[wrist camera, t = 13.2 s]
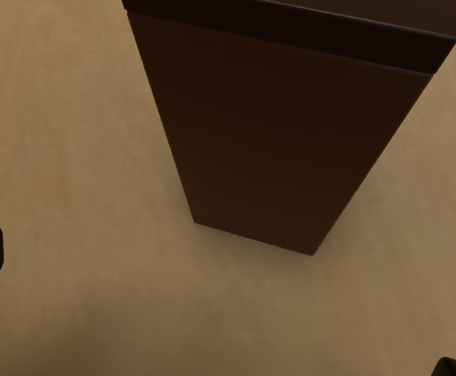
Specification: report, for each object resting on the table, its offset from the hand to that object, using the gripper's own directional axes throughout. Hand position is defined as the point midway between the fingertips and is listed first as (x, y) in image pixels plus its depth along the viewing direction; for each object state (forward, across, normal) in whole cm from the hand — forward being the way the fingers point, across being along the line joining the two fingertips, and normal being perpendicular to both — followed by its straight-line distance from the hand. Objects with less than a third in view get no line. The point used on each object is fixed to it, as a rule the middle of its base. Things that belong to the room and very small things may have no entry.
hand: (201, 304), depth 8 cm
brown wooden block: (+11, 0, +1) cm, 11 cm away
